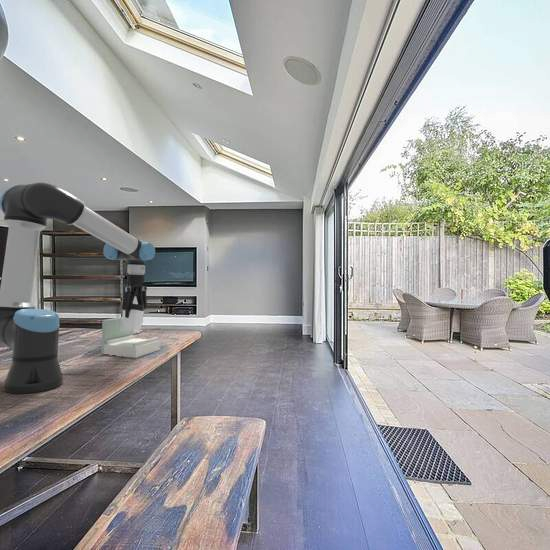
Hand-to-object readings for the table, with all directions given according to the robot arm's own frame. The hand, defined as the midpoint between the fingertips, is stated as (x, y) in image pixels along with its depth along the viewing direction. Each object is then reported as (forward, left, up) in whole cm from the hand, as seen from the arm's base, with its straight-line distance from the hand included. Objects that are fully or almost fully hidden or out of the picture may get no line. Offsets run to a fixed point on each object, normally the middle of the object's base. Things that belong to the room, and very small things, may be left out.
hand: (134, 323), depth 159 cm
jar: (-3, 0, -3) cm, 4 cm away
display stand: (0, 0, -13) cm, 13 cm away
